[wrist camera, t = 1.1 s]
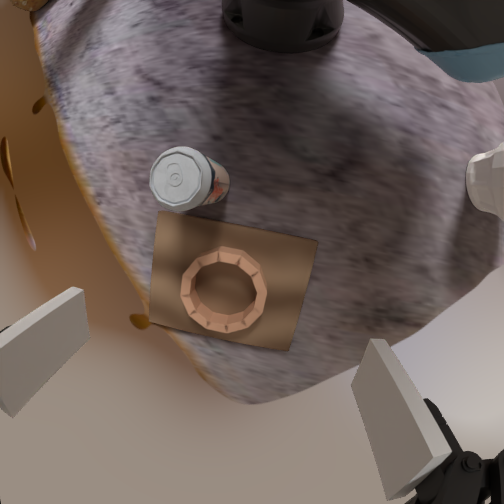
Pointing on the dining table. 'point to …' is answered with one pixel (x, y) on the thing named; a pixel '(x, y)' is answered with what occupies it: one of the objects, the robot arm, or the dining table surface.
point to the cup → (487, 181)
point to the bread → (29, 4)
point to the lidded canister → (187, 179)
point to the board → (230, 277)
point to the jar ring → (216, 319)
